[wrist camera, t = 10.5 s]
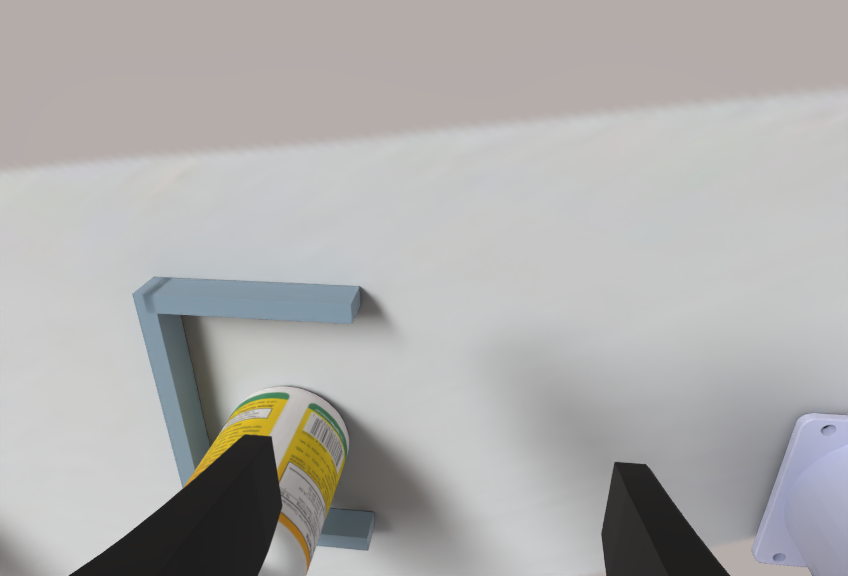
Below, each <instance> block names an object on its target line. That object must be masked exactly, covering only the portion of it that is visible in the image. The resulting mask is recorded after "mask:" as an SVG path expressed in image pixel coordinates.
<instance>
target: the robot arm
mask: <svg viewBox="0 0 848 576" xmlns="http://www.w3.org/2000/svg"><path fill="white" fill-rule="evenodd" d="M826 425H829V427H827V428H825V429H822V428H823V427H824V426H826ZM282 506H283V505H282V498H281V492H280V486H279V479H278V473H277V467H276V460H275V454H274V448H273V442H272V436H262V435H249V434H244V435H243V436H242V437H241V438H240V439H239V440H237V441H236V442H235V443H234V444H233V445H232V446H231V447H229V448H228V449H227V450H226V451H225V452H224V453H223V454H221V455H220V456H219V457H218V458H217V459H216V460H215V461H214V462H213V463H211V464H210V465H209V466H208V467H207V468H206V469H205V470H204V471H202V472H201V473H200V474H199V475H198V476H197V477H196V478H195V479H193V480H192V481H191V482H190V483H189V484H188V485H187V486H185V487H184V488H183V489H182V490H181V491H180V492H178V493H177V494H176V495H175V496H174V497H173V498H171V499H170V500H169V501H168V502H167V503H166V504H164V505H163V506H162V507H161V508H160V509H158V510H157V511H156V512H155V513H153V514H152V515H151V516H149V517H148V518H147V519H146V520H144V521H143V522H142V523H141V524H139V525H138V526H137V527H136V528H134V529H133V530H132V531H131V532H129V533H128V534H127V535H126V536H124V537H123V538H122V539H120V540H119V541H118V542H116V543H115V544H114V545H112V546H111V547H109V548H108V549H107V550H105V551H104V552H103V553H101V554H100V555H98V556H97V557H95V558H94V559H93V560H91V561H90V562H88V563H87V564H85V565H84V566H82V567H81V568H79V569H78V570H76V571H75V572H73V573H72V574H71V575H69V576H258V574H259V572H260V570H261V568H262V565H263V563H264V561H265V558H266V556H267V554H268V551H269V548H270V545H271V542H272V539H273V536H274V533H275V530H276V526H277V523H278V520H279V516H280V513H281V510H282ZM601 534H602V543H603V552H604V560H605V568H606V576H730V575H729V574H728V573H727V571H726V570H725V569H724V568H723V566H722V565H721V564H720V563H719V562H718V560H717V559H716V558H715V557H714V556H713V554H712V553H711V551H710V550H709V549H708V548H707V546H706V545H705V544H704V542H703V541H702V540H701V539H700V537H699V536H698V535H697V534H696V532H695V531H694V530H693V528H692V527H691V526H690V524H689V523H688V522H687V520H686V519H685V518H684V516H683V515H682V513H681V512H680V511H679V509H678V508H677V507H676V505H675V504H674V502H673V501H672V500H671V498H670V497H669V495H668V494H667V493H666V491H665V490H664V488H663V487H662V485H661V484H660V483H659V481H658V480H657V478H656V477H655V475H654V474H653V472H652V471H651V469H650V468H649V467H648V466H647V465H646V464H635V463H622V462H615V463H614V468H613V473H612V479H611V484H610V490H609V495H608V501H607V506H606V512H605V517H604V522H603V528H602V533H601ZM752 553H753V556H754V558H755V559H756V560H757V561H758V562H760V563H765V564H776V565H787V566H800V567H808V569H809V570H810V572H811V574H812V576H848V415H836V414H820V413H809V414H806V415H803V416H802V417H800V418H799V419H798V421H797V422H796V425H795V427H794V430H793V433H792V436H791V439H790V442H789V444H788V447H787V450H786V453H785V456H784V459H783V461H782V464H781V467H780V470H779V473H778V476H777V478H776V481H775V484H774V487H773V490H772V493H771V495H770V498H769V501H768V504H767V507H766V510H765V512H764V515H763V518H762V521H761V524H760V527H759V529H758V532H757V535H756V538H755V541H754V544H753V547H752Z"/></svg>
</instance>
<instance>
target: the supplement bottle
mask: <svg viewBox="0 0 848 576" xmlns="http://www.w3.org/2000/svg"><path fill="white" fill-rule="evenodd" d="M244 434H249V435H262V436H272V442H273V448H274V454H275V460H276V467H277V473H278V479H279V486H280V492H281V498H282V505H283V506H282V510H281V513H280V516H279V520H278V523H277V526H276V530H275V533H274V536H273V539H272V542H271V545H270V548H269V551H268V554H267V556H266V558H265V561H264V563H263V565H262V568H261V570H260V572H259V574H258V576H306V574H307V571H308V569H309V566H310V563H311V560H312V557H313V554H314V551H315V548H316V545H317V542H318V540H319V537H320V534H321V531H322V528H323V525H324V522H325V519H326V516H327V514H328V511H329V508H330V505H331V502H332V500H333V497H334V494H335V491H336V488H337V485H338V482H339V479H340V476H341V473H342V470H343V468H344V465H345V461H346V459H347V456H348V451H349V436H348V432H347V429H346V426H345V423H344V421H343V419H342V418H341V416H340V415H339V413H338V412H337V411H336V410H335V409H334V408H333V407H332V406H331V405H330V404H329V403H328V402H326V401H325V400H324V399H322V398H321V397H319V396H317V395H315V394H313V393H311V392H309V391H306V390H303V389H299V388H295V387H286V386H280V387H272V388H267V389H263V390H260V391H257V392H255V393H253V394H251V395H249V396H248V397H246V398H245V399H244V400H243V401H242V402H241V403H240V404H239V405H238V407H237V408H236V409H235V411H234V412H233V414H232V415H231V417H230V418H229V420H228V421H227V423H226V425H225V426H224V427H223V429H222V430H221V432H220V433H219V435H218V437H217V438H216V440H215V441H214V443H213V444H212V446H211V447H210V448H209V450H208V452H207V453H206V455H205V456H204V458H203V459H202V461H201V462H200V464H199V465H198V466H197V468H196V470H195V471H194V473H193V474H192V476H191V477H190V479H189V480H188V481H187V483H186V484H185V486H187V485H188V484H189V483H190V482H191V481H192V480H193V479H195V478H196V477H197V476H198V475H199V474H200V473H201V472H202V471H204V470H205V469H206V468H207V467H208V466H209V465H210V464H211V463H213V462H214V461H215V460H216V459H217V458H218V457H219V456H220V455H221V454H223V453H224V452H225V451H226V450H227V449H228V448H229V447H231V446H232V445H233V444H234V443H235V442H236V441H237V440H239V439H240V438H241V437H242V436H243V435H244ZM185 486H184V487H185ZM184 487H183V488H184Z"/></svg>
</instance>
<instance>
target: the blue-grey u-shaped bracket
mask: <svg viewBox="0 0 848 576" xmlns="http://www.w3.org/2000/svg"><path fill="white" fill-rule="evenodd" d="M133 298H134V302H135V306H136V310H137V314H138V318H139V321H140V325H141V329H142V333H143V337H144V341H145V345H146V348H147V352H148V356H149V360H150V364H151V368H152V372H153V375H154V379H155V383H156V387H157V391H158V395H159V399H160V402H161V406H162V410H163V414H164V418H165V422H166V426H167V429H168V433H169V437H170V441H171V445H172V449H173V453H174V456H175V460H176V464H177V468H178V472H179V476H180V480H181V483H182V487H184V486H185V484H186V483H187V481H188V480H189V479H190V477H191V476H192V474H193V473H194V471H195V470H196V468H197V466H198V465H199V464H200V462H201V461H202V459H203V458H204V456H205V455H206V453H207V452H208V450H209V448H210V445H209V440H208V436H207V431H206V427H205V422H204V418H203V413H202V409H201V404H200V400H199V395H198V391H197V386H196V382H195V377H194V372H193V368H192V363H191V359H190V354H189V350H188V345H187V341H186V336H185V332H184V327H183V323H182V318H181V315H194V316H213V317H232V318H251V319H270V320H289V321H308V322H327V323H346V324H352V323H353V321H354V318H355V316H356V314H357V312H358V310H359V307H360V305H361V302H360V286H339V285H317V284H295V283H273V282H251V281H229V280H208V279H186V278H164V277H153V278H152V279H151V280H149V281H148V282H147V283H145V284H144V285H143V286H142V287H140V288H139V289H138V290H137V291H135V292H134V293H133ZM373 528H374V512H365V511H353V510H342V509H331V508H329V511H328V514H327V516H326V519H325V522H324V525H323V528H322V531H321V534H320V537H319V540H318V542H317V545H316V546H326V547H336V548H347V549H357V550H368V549H369V545H370V541H371V537H372V533H373Z"/></svg>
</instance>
